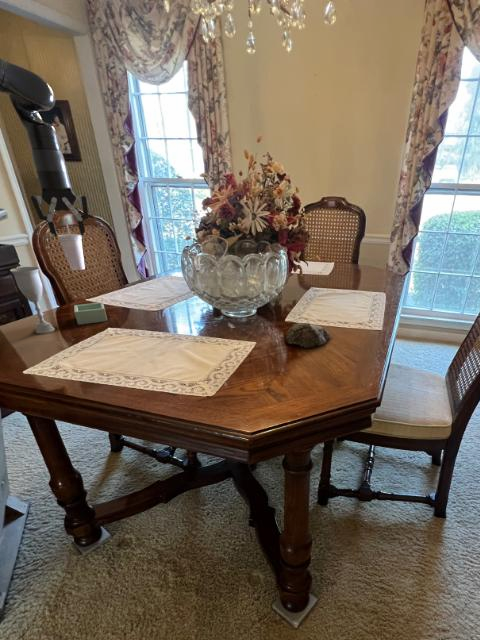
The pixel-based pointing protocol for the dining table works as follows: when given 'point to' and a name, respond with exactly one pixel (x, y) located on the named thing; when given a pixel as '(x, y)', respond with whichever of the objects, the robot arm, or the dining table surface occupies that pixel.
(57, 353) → the dining table surface
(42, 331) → the chalice
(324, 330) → the dark rough stone
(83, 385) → the dining table surface
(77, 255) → the smoothie
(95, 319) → the holder
